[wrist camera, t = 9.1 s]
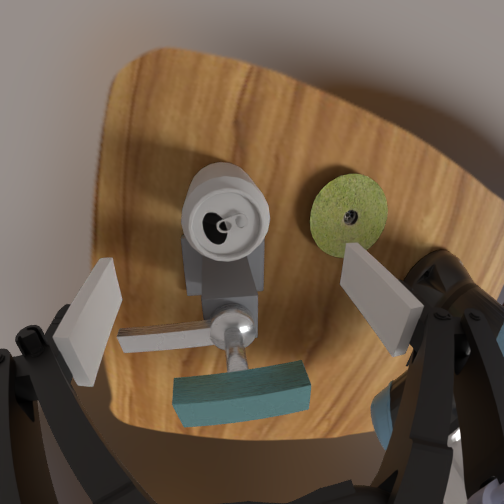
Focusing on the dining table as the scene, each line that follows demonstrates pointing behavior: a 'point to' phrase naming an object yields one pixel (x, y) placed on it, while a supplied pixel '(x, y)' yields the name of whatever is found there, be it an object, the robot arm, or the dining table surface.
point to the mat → (348, 214)
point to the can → (224, 213)
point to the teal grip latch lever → (224, 384)
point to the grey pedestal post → (224, 280)
